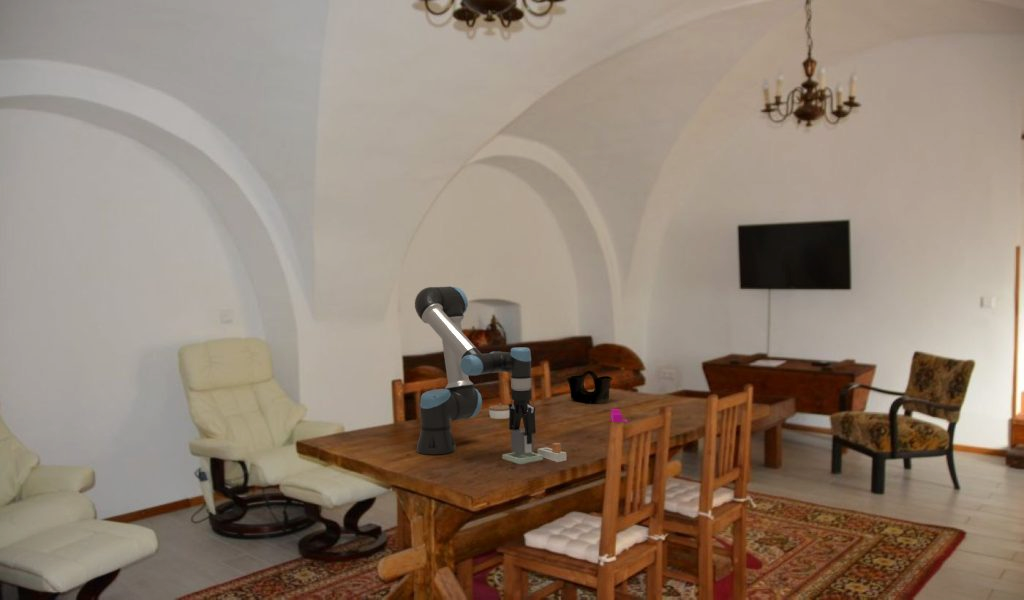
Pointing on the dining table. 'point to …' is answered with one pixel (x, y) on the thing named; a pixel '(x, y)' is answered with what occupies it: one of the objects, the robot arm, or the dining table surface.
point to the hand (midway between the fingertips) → (522, 450)
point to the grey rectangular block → (519, 441)
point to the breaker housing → (552, 454)
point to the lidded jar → (499, 411)
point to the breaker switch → (556, 447)
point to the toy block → (617, 416)
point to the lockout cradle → (522, 457)
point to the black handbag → (586, 397)
